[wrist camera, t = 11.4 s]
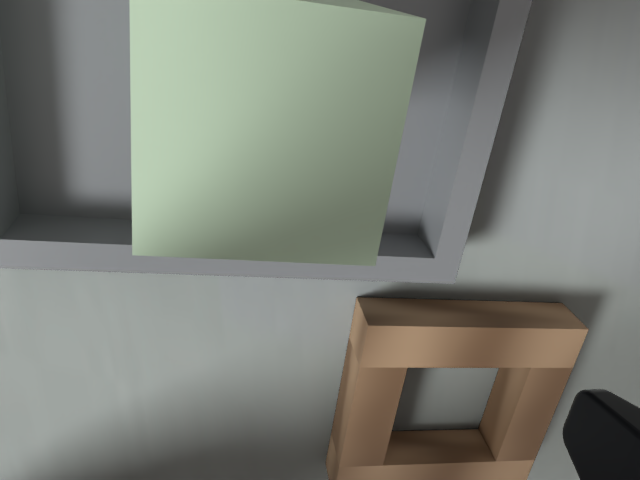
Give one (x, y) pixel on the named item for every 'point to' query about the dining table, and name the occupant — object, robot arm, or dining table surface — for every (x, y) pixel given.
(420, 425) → the dining table surface
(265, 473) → the dining table surface
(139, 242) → the tall mint pillar
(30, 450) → the dining table surface
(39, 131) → the grey tray
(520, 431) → the walnut collar
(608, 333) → the dining table surface
